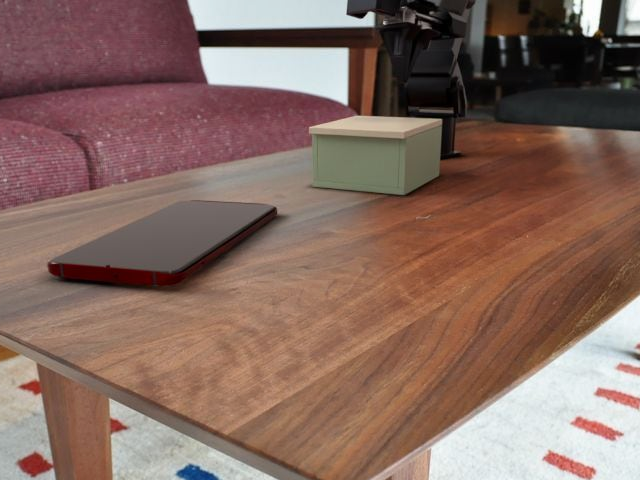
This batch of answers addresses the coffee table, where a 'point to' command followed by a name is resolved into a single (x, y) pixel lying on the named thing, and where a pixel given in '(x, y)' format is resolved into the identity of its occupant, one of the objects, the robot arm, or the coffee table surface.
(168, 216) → the smartphone
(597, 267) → the coffee table surface
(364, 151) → the case
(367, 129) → the cover
